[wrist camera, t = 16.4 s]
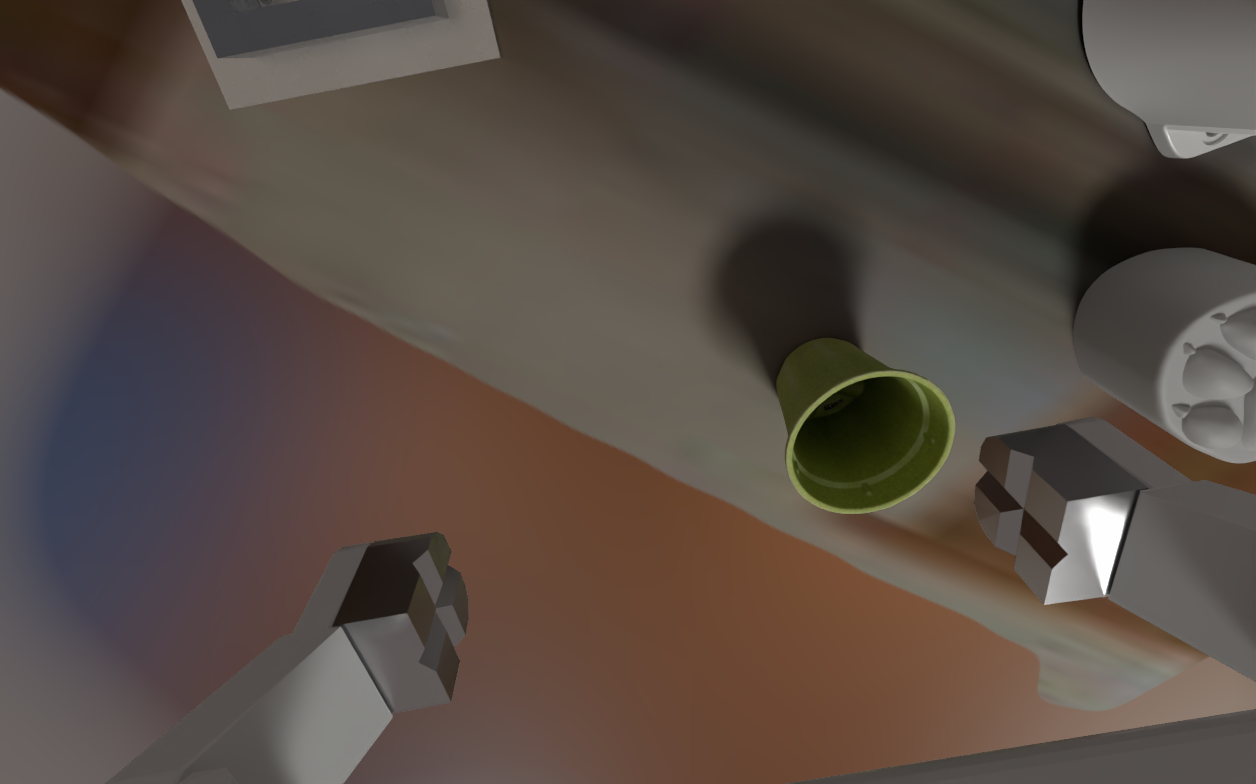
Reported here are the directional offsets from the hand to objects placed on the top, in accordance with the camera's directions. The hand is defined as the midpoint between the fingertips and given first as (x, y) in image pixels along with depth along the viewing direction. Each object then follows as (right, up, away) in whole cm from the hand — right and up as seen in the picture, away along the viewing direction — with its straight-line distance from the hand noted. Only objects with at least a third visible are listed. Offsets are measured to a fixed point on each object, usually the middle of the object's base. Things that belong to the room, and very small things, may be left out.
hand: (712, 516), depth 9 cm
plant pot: (+12, +3, +33) cm, 35 cm away
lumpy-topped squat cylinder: (+34, +6, +32) cm, 48 cm away
